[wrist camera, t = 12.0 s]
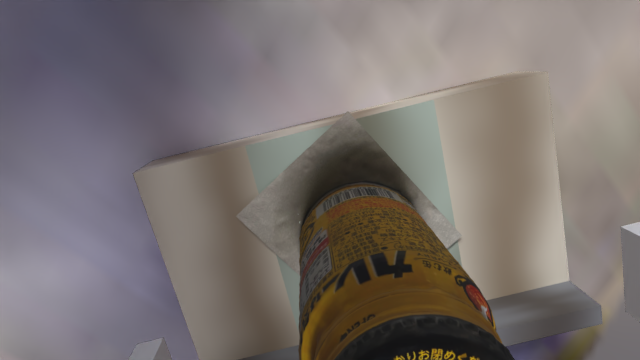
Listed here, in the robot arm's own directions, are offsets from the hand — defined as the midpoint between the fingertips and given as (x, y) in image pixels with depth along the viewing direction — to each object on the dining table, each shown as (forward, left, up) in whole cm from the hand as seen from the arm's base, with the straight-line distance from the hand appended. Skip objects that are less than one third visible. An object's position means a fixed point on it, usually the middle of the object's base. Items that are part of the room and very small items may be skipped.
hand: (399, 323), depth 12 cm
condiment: (0, 0, -10) cm, 10 cm away
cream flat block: (0, -1, -13) cm, 13 cm away
